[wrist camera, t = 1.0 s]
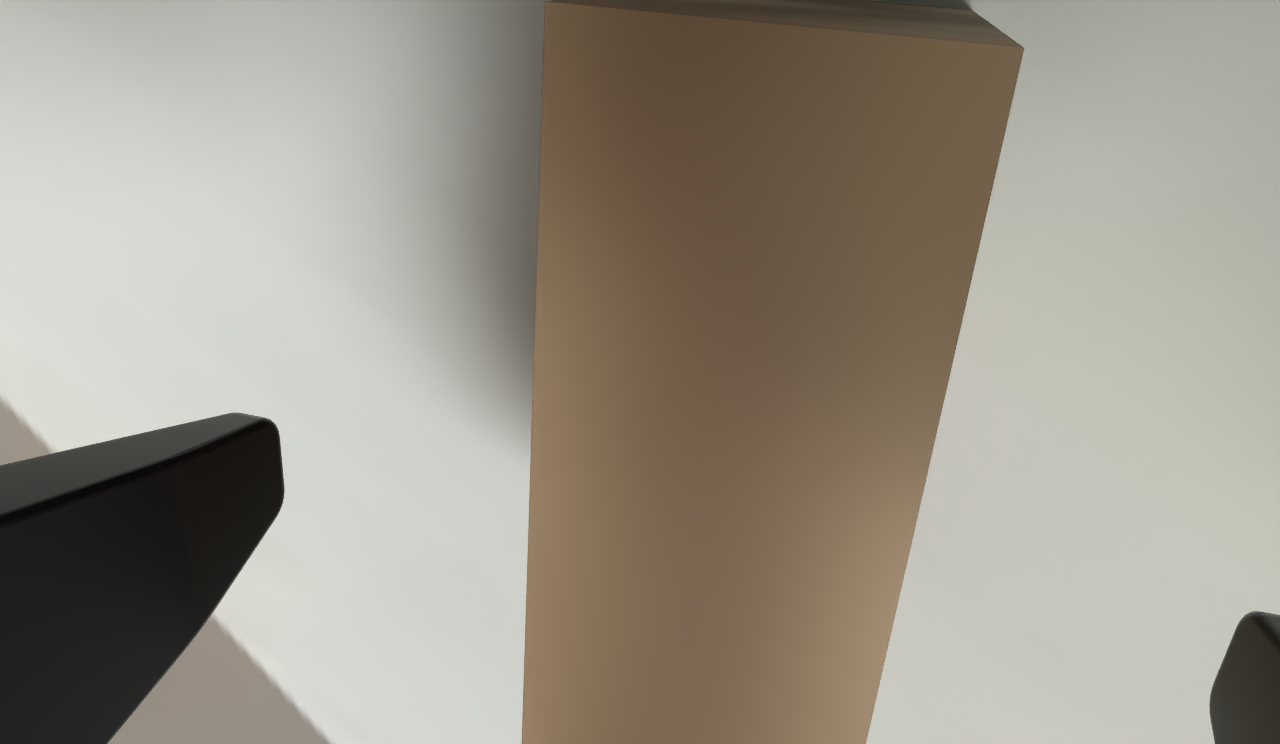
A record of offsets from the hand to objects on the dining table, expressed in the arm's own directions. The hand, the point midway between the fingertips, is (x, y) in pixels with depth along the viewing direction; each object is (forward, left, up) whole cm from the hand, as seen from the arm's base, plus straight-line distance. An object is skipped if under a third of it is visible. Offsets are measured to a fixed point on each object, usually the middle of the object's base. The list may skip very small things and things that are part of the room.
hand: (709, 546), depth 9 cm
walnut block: (0, 0, -7) cm, 7 cm away
